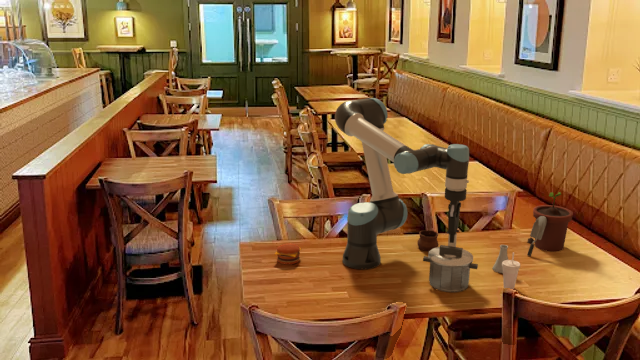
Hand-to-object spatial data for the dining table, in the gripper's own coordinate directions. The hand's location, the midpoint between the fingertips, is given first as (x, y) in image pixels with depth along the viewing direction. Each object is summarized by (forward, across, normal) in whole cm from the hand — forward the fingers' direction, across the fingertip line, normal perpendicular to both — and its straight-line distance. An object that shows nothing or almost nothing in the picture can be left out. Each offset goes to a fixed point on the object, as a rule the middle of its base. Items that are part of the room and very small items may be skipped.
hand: (451, 249), depth 228 cm
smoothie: (+13, +3, -21) cm, 25 cm away
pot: (+13, -2, 0) cm, 13 cm away
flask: (+13, +18, -17) cm, 28 cm away
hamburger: (+13, -4, +64) cm, 65 cm away
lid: (+3, -2, 0) cm, 3 cm away
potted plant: (+13, +48, -31) cm, 59 cm away
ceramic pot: (+14, +30, +14) cm, 36 cm away
